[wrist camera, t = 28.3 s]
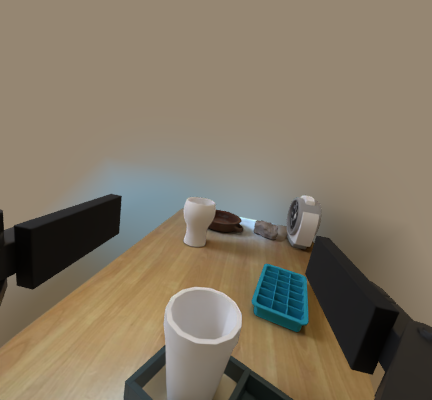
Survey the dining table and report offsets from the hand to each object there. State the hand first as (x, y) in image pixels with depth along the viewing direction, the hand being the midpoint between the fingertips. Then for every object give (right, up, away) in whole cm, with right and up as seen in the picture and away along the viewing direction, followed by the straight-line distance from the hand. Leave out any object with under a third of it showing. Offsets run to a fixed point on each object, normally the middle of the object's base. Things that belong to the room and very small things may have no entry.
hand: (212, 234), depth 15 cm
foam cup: (-3, -24, +16) cm, 29 cm away
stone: (+21, -13, +81) cm, 85 cm away
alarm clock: (+34, -16, +79) cm, 87 cm away
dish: (+1, -9, +82) cm, 83 cm away
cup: (-7, -13, +63) cm, 65 cm away
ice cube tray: (+16, -22, +40) cm, 49 cm away
